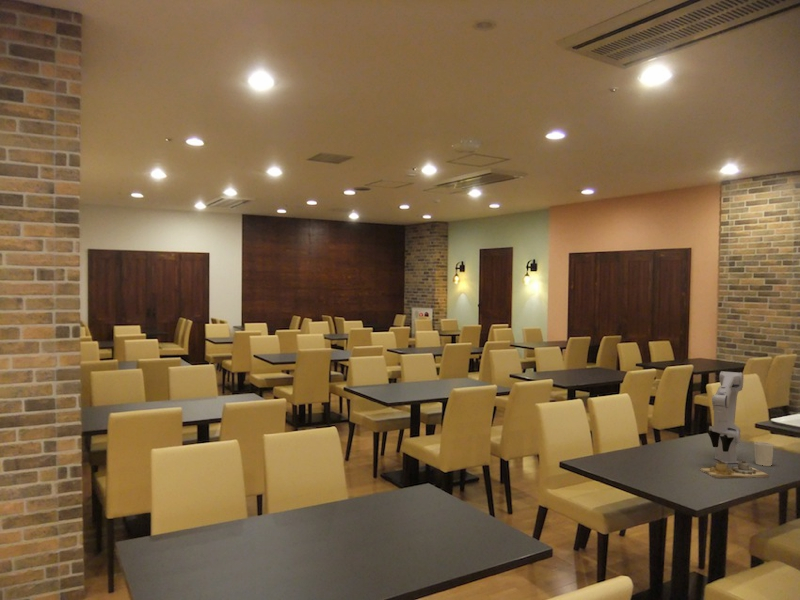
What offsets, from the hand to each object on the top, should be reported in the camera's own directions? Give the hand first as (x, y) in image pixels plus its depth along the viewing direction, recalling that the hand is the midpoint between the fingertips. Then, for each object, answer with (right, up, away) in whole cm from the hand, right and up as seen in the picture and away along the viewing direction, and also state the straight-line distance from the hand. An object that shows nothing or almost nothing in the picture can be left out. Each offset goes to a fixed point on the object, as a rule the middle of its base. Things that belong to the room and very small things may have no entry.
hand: (720, 449), depth 272 cm
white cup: (+25, -10, +8) cm, 28 cm away
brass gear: (-3, -9, -7) cm, 12 cm away
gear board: (+3, -10, -7) cm, 12 cm away
